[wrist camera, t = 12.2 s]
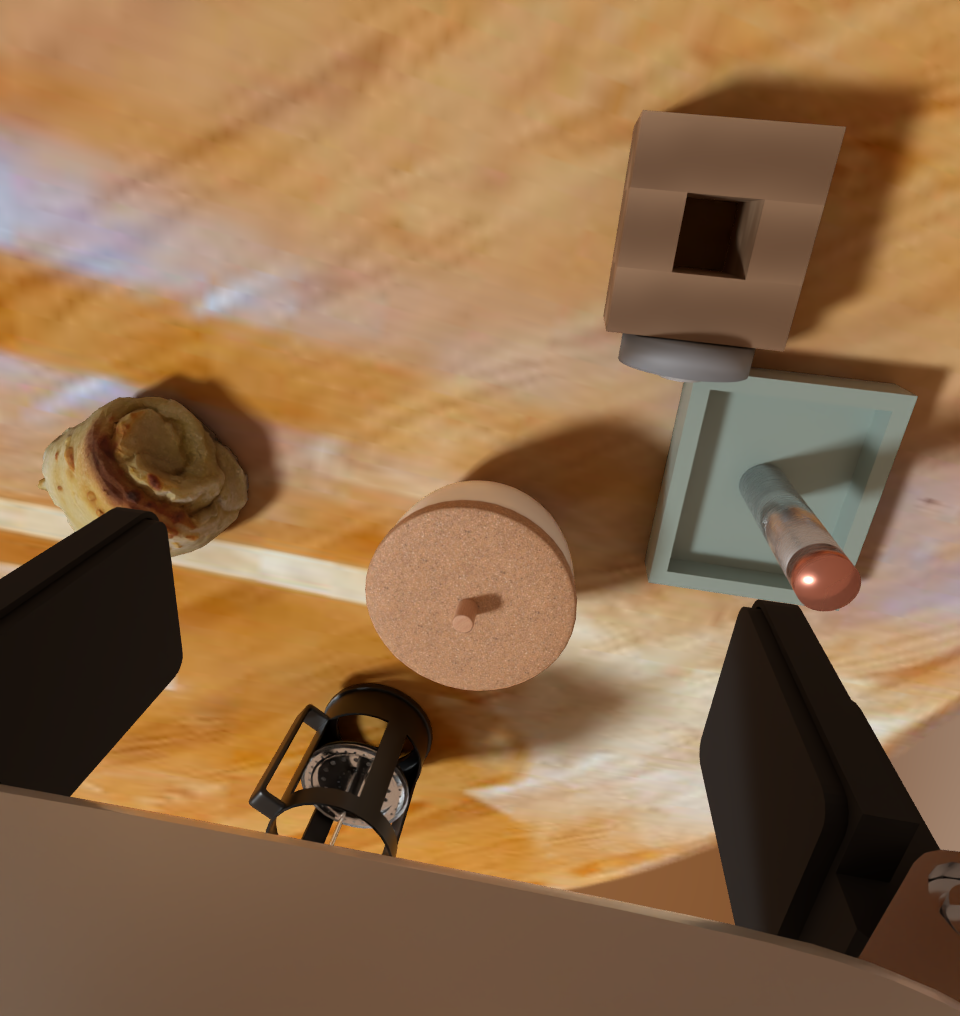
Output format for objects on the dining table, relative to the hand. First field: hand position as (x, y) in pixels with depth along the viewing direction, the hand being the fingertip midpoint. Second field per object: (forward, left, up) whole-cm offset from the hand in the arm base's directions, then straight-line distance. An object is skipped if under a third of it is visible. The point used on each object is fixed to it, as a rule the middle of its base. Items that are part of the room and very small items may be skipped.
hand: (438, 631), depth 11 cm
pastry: (+13, -27, -34) cm, 45 cm away
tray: (+8, +15, -33) cm, 37 cm away
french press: (+34, -10, -33) cm, 49 cm away
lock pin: (+8, +15, -32) cm, 36 cm away
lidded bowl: (+15, -2, -33) cm, 37 cm away
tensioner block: (-5, +8, -33) cm, 34 cm away
